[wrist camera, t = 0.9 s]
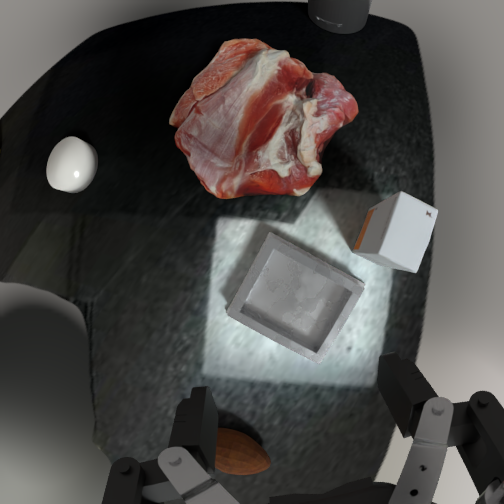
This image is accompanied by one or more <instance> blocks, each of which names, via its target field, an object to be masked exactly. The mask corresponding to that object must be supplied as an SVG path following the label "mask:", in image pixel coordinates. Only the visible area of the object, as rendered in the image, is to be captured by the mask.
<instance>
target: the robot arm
mask: <svg viewBox="0 0 504 504" xmlns="http://www.w3.org/2000/svg"><path fill="white" fill-rule="evenodd" d="M371 2H372V0H308V15H309V17H310V19H311V20H312V21H313V22H314V23H315V24H316V25H317V26H319V27H321V28H323V29H325V30H327V31H330V32H334V33H340V34H348V33H354V32H357V31H359V30H361V29H362V28H363V27H364V25H365V24H366V20H367V17H368V13H369V9H370V6H371ZM377 382H378V388H379V390H380V393H381V394H382V396H383V398H384V400H385V402H386V404H387V406H388V408H389V410H390V412H391V414H392V416H393V418H394V420H395V422H396V424H397V426H398V428H399V429H400V432H401V433H402V436H403V438H406V437H409V436H412V438H413V443H412V446H411V449H410V452H409V454H408V457H407V460H406V462H405V465H404V468H403V470H402V473H401V475H400V478H399V480H398V482H397V485H394V484H391V483H385V482H372V479H371V477H368V478H364V479H360V480H357V481H353V482H349V483H346V484H344V485H342V486H340V487H337V488H335V489H333V490H331V491H329V492H326V493H324V494H290V495H283V496H275V497H269V498H270V503H268V504H436V503H434V502H432V498H433V496H434V493H435V490H436V487H437V484H438V481H439V477H440V474H441V470H442V467H443V463H444V459H445V456H446V452H447V447H452V446H456V447H457V449H458V452H459V454H460V456H461V458H462V459H463V462H464V464H465V466H466V468H467V470H468V472H469V474H470V476H471V478H472V480H473V482H474V485H475V487H476V489H477V491H478V493H479V498H478V499H477V501H476V503H475V504H504V408H503V407H502V406H501V404H500V403H499V402H498V400H497V399H496V398H495V396H494V395H493V394H492V393H490V392H487V391H478V392H476V393H474V394H473V395H472V396H471V398H470V400H469V401H467V402H460V403H451V402H450V400H448V399H446V398H443V397H438V395H437V394H436V393H435V391H434V390H433V388H432V387H431V385H430V384H429V383H428V382H427V380H426V378H425V377H424V376H423V374H422V373H421V372H420V370H419V369H418V367H417V366H416V365H415V363H413V362H411V361H410V360H408V359H404V360H401V359H400V357H399V356H398V354H397V353H396V352H391V353H388V354H384V355H381V356H380V357H379V366H378V378H377ZM175 415H176V416H175V419H174V423H173V428H172V432H171V437H170V441H169V446H168V449H166V450H164V451H163V452H162V453H161V454H160V455H159V457H158V458H157V459H154V460H150V461H146V462H141V463H139V462H138V461H137V460H135V459H134V458H131V457H124V458H120V459H118V460H117V461H115V462H114V463H113V465H112V467H111V470H110V473H109V477H108V481H107V485H106V489H105V493H104V497H103V501H102V504H164V502H165V501H169V500H174V499H178V498H183V499H184V501H185V502H186V503H187V504H239V503H238V502H237V501H236V500H235V499H234V498H233V497H232V496H231V495H230V494H229V493H228V492H227V491H226V490H225V489H224V488H223V487H222V486H221V485H220V484H219V483H218V482H217V481H216V480H215V479H214V480H213V479H212V478H211V477H210V476H209V475H208V474H214V472H215V458H216V444H217V431H218V411H217V407H216V404H215V402H214V399H213V396H212V393H211V390H210V388H209V386H205V387H194V388H192V391H191V396H190V398H187V399H183V400H182V401H181V402H180V404H179V405H178V406H177V410H176V414H175Z"/></svg>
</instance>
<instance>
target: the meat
mask: <svg viewBox="0 0 504 504" xmlns="http://www.w3.org/2000/svg"><path fill="white" fill-rule="evenodd" d="M357 113H358V106H357V102H356V101H355V99H354V97H353V96H352V95H351V94H350V93H348V92H346V91H345V90H344V87H343V86H342V84H341V83H340V82H339V81H338V80H337V79H336V78H335V77H334V76H331V75H329V74H327V73H311V71H309V70H308V69H307V68H306V66H305V65H304V64H303V63H302V62H301V61H299V60H297V59H294V58H290V56H289V53H288V52H287V51H285V50H283V51H279V50H275V49H273V48H271V47H270V46H269V45H267V44H265V43H263V42H262V41H260V40H257V39H234V40H230V41H225V42H224V43H223V44H222V46H221V47H220V49H219V51H218V53H217V54H216V55H215V57H214V58H213V59H212V61H211V62H210V63H209V65H208V66H207V67H206V68H205V69H204V70H202V71H201V72H200V73H199V74H198V75H197V76H196V77H195V78H194V79H193V81H192V84H191V86H190V88H189V89H188V90H187V91H186V92H185V93H184V94H183V96H182V97H181V99H180V100H179V102H178V103H177V105H176V107H175V108H174V110H173V112H172V114H171V117H170V120H169V124H170V125H172V126H174V127H177V128H179V129H178V130H177V132H176V134H175V142H176V146H177V147H178V148H179V149H181V151H182V152H183V153H184V154H185V155H186V156H187V159H188V162H189V165H190V168H191V169H192V170H193V171H194V172H195V173H196V175H197V177H198V179H199V180H200V181H201V184H202V185H203V186H204V187H205V189H206V190H207V191H209V192H210V193H212V194H214V195H215V196H216V197H218V198H222V199H228V198H236V197H240V196H245V195H283V194H287V195H294V196H301V195H303V194H305V193H306V192H307V191H308V190H309V189H310V188H311V186H312V185H313V184H314V182H315V181H316V180H317V179H318V178H319V176H320V175H321V173H322V167H321V159H322V155H323V153H324V150H325V148H326V146H327V145H328V143H329V142H330V140H331V139H332V137H333V135H334V133H335V132H336V131H338V130H339V129H340V128H341V127H343V126H345V125H346V124H348V123H350V122H351V121H353V119H354V118H355V116H356V115H357Z"/></svg>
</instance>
